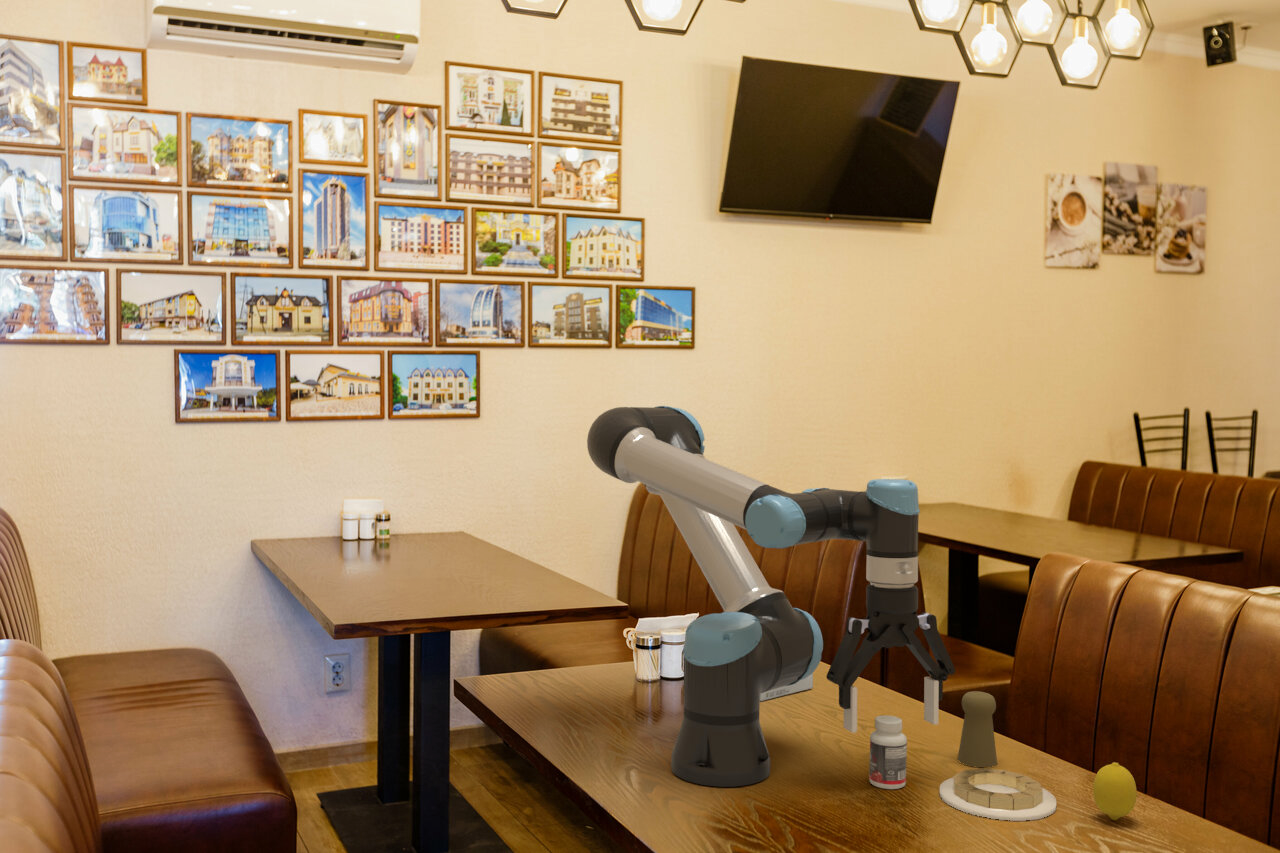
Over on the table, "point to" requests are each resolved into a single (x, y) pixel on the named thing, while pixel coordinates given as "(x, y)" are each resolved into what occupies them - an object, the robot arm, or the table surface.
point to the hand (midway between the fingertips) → (891, 726)
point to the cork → (978, 730)
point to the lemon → (1114, 791)
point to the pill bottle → (888, 753)
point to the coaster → (1013, 815)
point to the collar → (1007, 801)
